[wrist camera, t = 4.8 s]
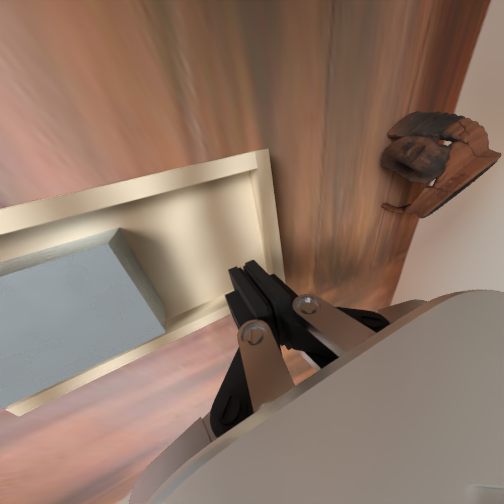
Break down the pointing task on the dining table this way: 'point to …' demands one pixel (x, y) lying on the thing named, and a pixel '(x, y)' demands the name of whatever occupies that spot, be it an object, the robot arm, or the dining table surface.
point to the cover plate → (72, 311)
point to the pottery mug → (437, 157)
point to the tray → (162, 241)
